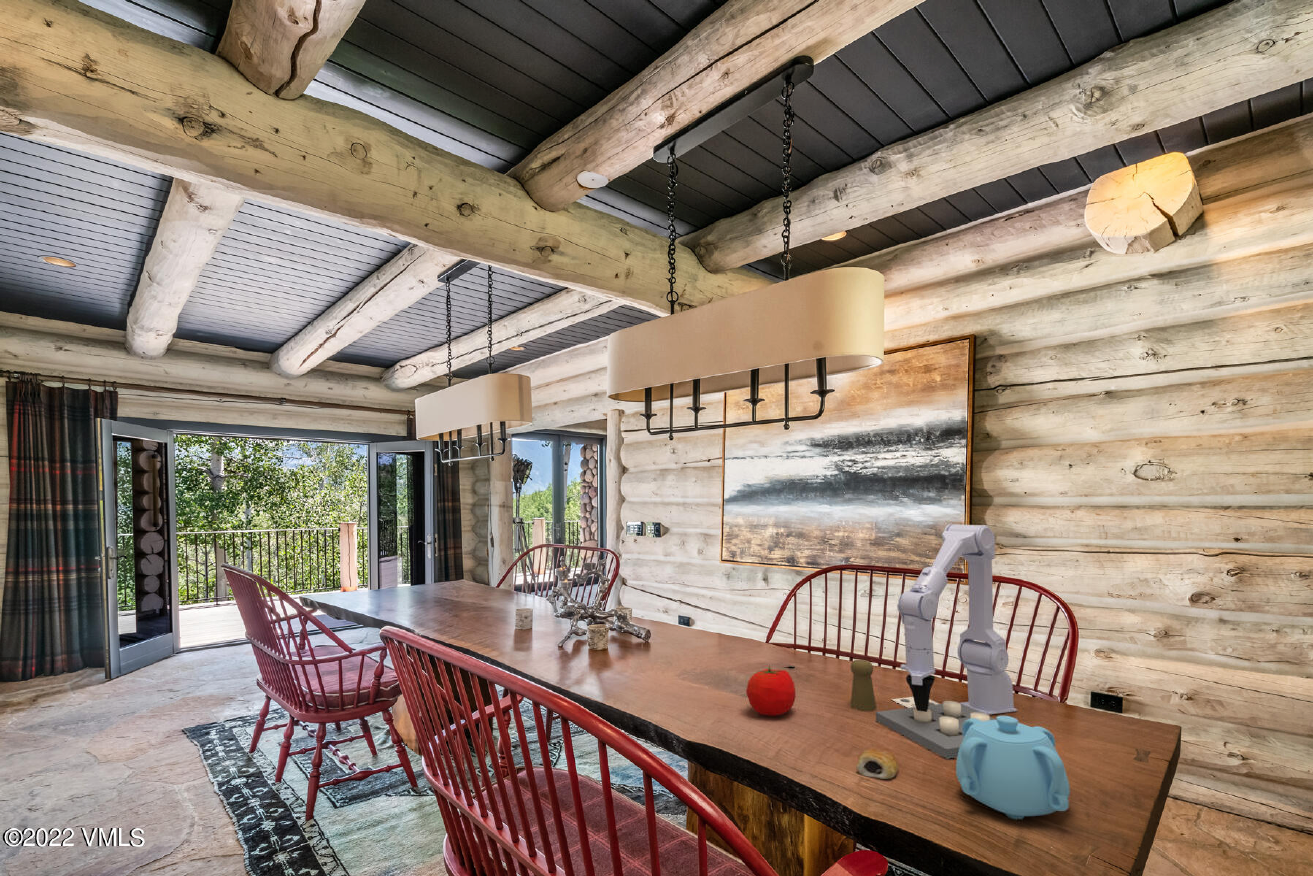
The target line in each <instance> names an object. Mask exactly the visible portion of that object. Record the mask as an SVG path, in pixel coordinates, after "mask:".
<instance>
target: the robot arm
mask: <svg viewBox="0 0 1313 876" xmlns="http://www.w3.org/2000/svg"><path fill="white" fill-rule="evenodd" d="M995 536H996V535H995V533H994V532H993V530H992V529H991V528H990V527H989V526H988V524H987V525H986V524H981V525H980V524H976V525H975V524H955V523H949V524H947V525H946V527H945V528H944V530H943V532H942V533H941V539H942V545H941V547H940V548H939V551H938V552H937V555H936V557H935V559H934V561H933V563H932V565H931V566H927V567H924V568H923V569H922V571H921V573H920V574H919V576H918V577H917V579H916V580H915V582H914V583H913V584H912V586H911V588H910V589H909V590H906V591H904V592H903V593H902V594H900V595H899V598H898V603H897V604H896V607H897V611H898V613H899V614H900V618H901V622H902V623H901V624H902V625H904V627H903V628H904V647H905V664H903V663H902V664H900V669H901V670H903V671H906V672H907V673H908V674H907V676H906V677H905V680H906V682H907V685H908V686H909V688H910V692H911V693H912V697H913V698H914V702H915V706H916V709H917V711H924V712H927V710H928V705H929V699H930V695H931V689H932V688H933V685H934V683H935V680H936V676H934V674H935V673H936V668H935V662H934V641H933V638H934V637H933V624H932V623H933V622H932V620H933V619H934V618H935V616H936V615H937V612H938V604H939V598H940V596H941V594H942V592H943V591H944V589H945V588H946V586H947V585H948V577H947V575H948V573H949V571H950V570H951V569H952V568H953V566H954V565H955V563H956V562H957V561H958V560H959V559H960V558H961V557H962V558H963V559H964V560H965V561H966V562H967V564H968V566H967V567H968V627H967V629H965V630H964V631H962V632H961V633H960V634H959V643H958V646H957V649H956V650H957V657H958V660H959V662H960V663H961V664H962V665H963V668H964V669H965V670H966V677H967V678H966V679H967V694H968V697H967V698H968V701H964V702H963V701H962V702H959V703H960V704H961V705H963V706H965V707H968V708H970V709H972V710H975V711H977V712H980V713H984V714H987V715H989V716H990V715H996V714H1003V713H1004V714H1006V713H1010V712H1011V713H1012V712H1017V711H1018V709H1017V708H1015V706H1014V705H1015V704H1014V703H1015V701H1014V691H1013V690H1014V689H1013V687H1014V686H1013V681H1012V678H1011V677H1010V675H1009V673H1008V672H1007V671H1006V669H1007V667H1008V665H1009V661H1010V659H1009V654H1008V652H1007V645H1006V639H1004V638H1003V636H1001V635H1000V634H999V633H998V632H996V630H994V609H993V608H994V606H993V605H994V604H993V603H994V599H993V597H994V595H993V594H994V593H993V560H994V559H995V558H996V538H995Z"/></svg>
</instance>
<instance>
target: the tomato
mask: <svg viewBox="0 0 1313 876" xmlns="http://www.w3.org/2000/svg"><path fill="white" fill-rule="evenodd" d="M745 693H746V695H747V699H748V702H749V705H750V706H751V708H752V709H753V710H754V712H756V713H758V714H759V715H763V716H770V717H776V716H780V715H783V714H787V712H789V711H790V710H792V707H793V706H794V704H795V700H796V687H795V681H794V680H793V678H792V676H791V675H790V673H789V672H788V671H786V670H785V669H771V666H770V665H768V668H765V669H763V670H760V671H758V672H755V673H753V675H751V677H750V678H749V680H748V682H747V686H746V691H745Z"/></svg>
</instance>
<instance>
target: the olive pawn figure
mask: <svg viewBox="0 0 1313 876" xmlns="http://www.w3.org/2000/svg"><path fill="white" fill-rule="evenodd" d="M850 671H851V673H852V687H851V688H852V689H851V698H850V707H852V708H851V709H853V708H855V709H857V710H856V711H859V710H860V712H873V711H872V710H874V711H876V710H877V709H876V708H877V704H876V697H875V691H874V686H873V680H872V675H873V671H874V666H873V663H871V661H869V660H866V659H854V660H853V661H852V662H851V664H850ZM855 709H854V710H855ZM875 709H876V710H875Z"/></svg>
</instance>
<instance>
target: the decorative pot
mask: <svg viewBox="0 0 1313 876" xmlns="http://www.w3.org/2000/svg"><path fill="white" fill-rule="evenodd" d="M995 719H996V720H988V721H981V720H979V719H975V718H971V719H968V720H966V721H965V722H964V723H963V725H962V732H963V737H964V739H963V741H962V743H961V746H960V748H959V752H958V756H957V758H956V765H955V772H956V773H955V774H956V777H957V780H958V783H959V784H960V788H961V789H962V791H963V792H964V793H965V794H967V795H969V796H971V798H974V799H975V801H978V802H980V803H981V804H983V805H985V806H987V807H990V808H991V809H994V810H996V811H997V812H1001V813H1004V814H1005V816H1007V817H1008V818H1010V819H1013V820H1017V819H1022V820H1024V819H1023V818H1025V817H1036V816H1037V817H1039V816H1046V815H1049V814H1052V813H1055V812H1056V811H1059V812H1065V811H1067V810H1068V809H1069V806H1070V803H1069V797H1070V793H1071V790H1070V789H1071V788H1070V783H1069V779H1068V778H1069V777H1068V776H1067V775H1068V774H1067V770H1066V769H1065V766H1064V765H1065V764H1064V761H1063V759H1062V758H1061V756H1060V755H1059V753H1058V751H1057V749H1056V739H1055V737H1054V734H1053V733H1052V732H1051V731H1049V730H1048V729H1046V728H1045V727H1042V726H1033V727H1032V726H1029V725H1027V724H1023V723H1020V722H1019V720H1018V719H1017V718H1015V717H1012V716H1009V715H998V716H996V717H995Z"/></svg>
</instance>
